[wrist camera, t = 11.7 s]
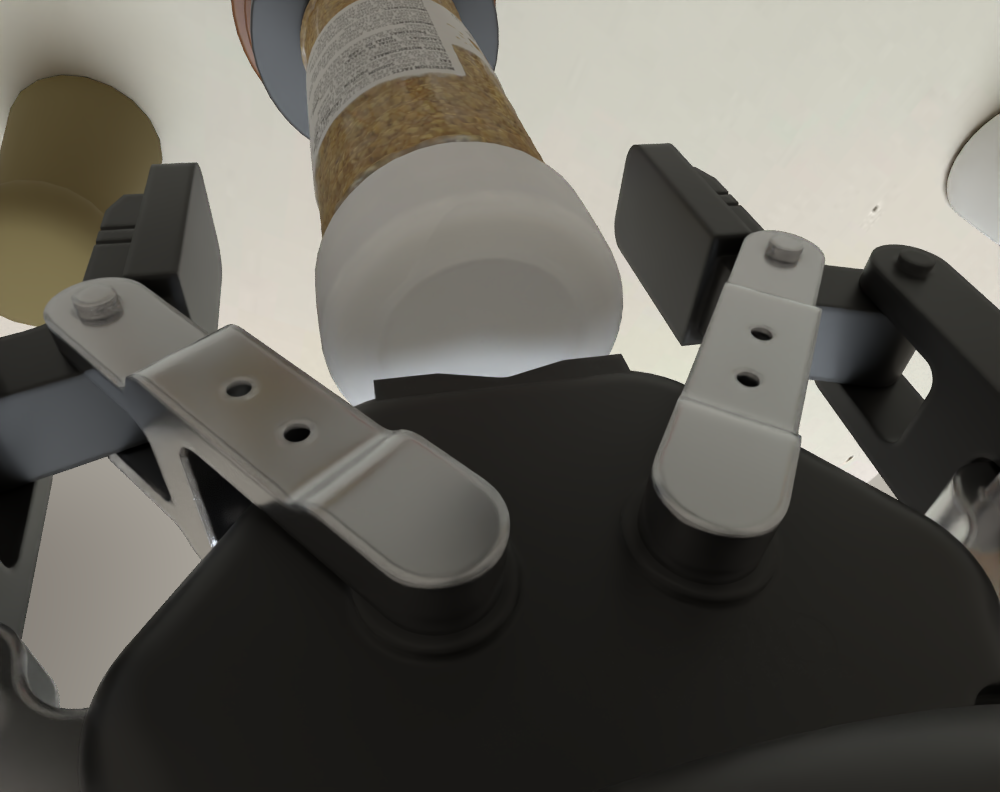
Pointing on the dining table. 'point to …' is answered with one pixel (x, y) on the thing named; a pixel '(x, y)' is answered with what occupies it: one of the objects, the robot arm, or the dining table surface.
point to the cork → (63, 184)
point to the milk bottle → (978, 181)
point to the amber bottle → (277, 53)
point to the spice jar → (439, 209)
